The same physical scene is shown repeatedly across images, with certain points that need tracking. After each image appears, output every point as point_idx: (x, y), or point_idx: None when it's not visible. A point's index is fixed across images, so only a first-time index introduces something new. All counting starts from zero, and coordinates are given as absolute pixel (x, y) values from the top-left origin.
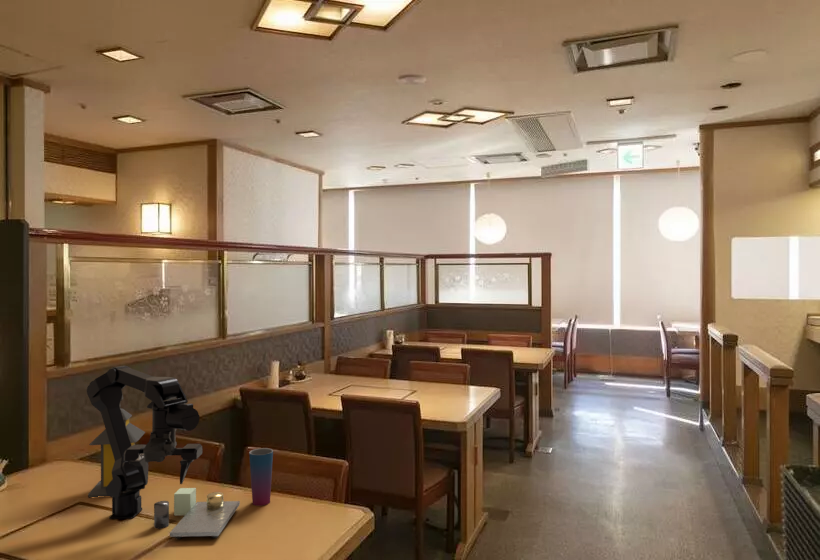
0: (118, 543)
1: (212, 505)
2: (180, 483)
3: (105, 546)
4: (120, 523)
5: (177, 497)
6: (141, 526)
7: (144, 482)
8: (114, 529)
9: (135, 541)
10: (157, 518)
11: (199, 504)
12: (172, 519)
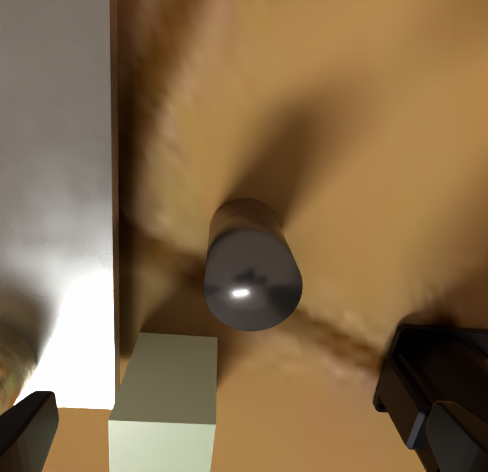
0: (420, 35)
1: None
2: (41, 394)
3: (483, 4)
4: (442, 284)
5: (195, 405)
6: (341, 238)
7: (470, 419)
8: (461, 222)
9: (333, 46)
10: (260, 216)
11: (87, 378)
12: None
